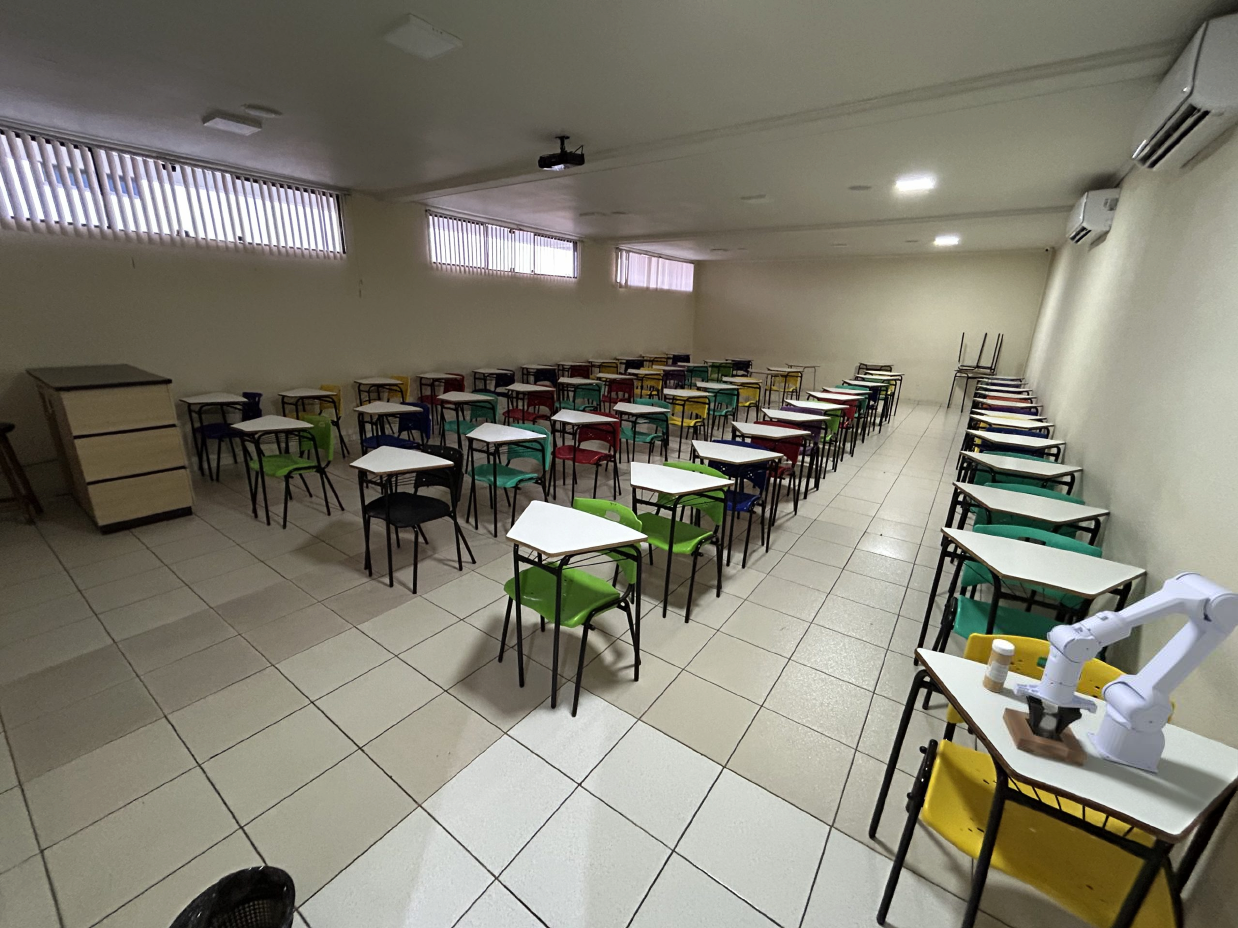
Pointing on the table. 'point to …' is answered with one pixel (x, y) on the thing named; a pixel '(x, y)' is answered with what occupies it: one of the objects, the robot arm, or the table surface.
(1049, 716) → the peg
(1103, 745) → the robot arm
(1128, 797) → the table surface
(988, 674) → the sprinkles bottle
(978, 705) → the table surface
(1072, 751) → the socket block
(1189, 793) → the table surface
